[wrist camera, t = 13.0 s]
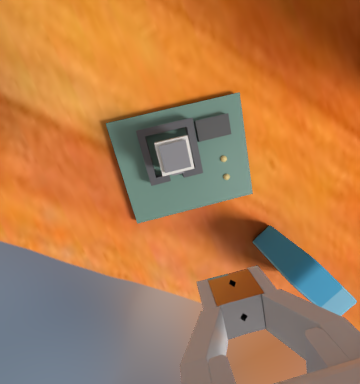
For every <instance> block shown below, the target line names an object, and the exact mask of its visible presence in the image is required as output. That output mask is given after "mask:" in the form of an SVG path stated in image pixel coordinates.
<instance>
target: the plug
mask: <svg viewBox="0 0 360 384" xmlns="http://www.w3.org/2000/svg"><path fill="white" fill-rule="evenodd" d="M154 144H155V148H156V152H157V156H158V160H159V164H160V168H161V172H162V176H167V175H171V174H172V176H174V175H178V174H182V173H184V171H187V170H191V169H195V168H194V164H193V159H192V154H191V149H190V144H189V140H188V135H187V136H179V137H175V138H171V139H166V140H162V141H158V142H155V143H154Z"/></svg>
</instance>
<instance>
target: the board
mask: <svg viewBox="0 0 360 384" xmlns="http://www.w3.org/2000/svg"><path fill="white" fill-rule="evenodd" d="M106 126H107V129H108V133H109V136H110V139H111V142H112V145H113V148H114V151H115V155H116V158H117V161H118V164H119V167H120V170H121V173H122V177H123V180H124V183H125V186H126V189H127V192H128V195H129V199H130V202H131V205H132V208H133V211H134V214H135V217H136V221H137V223H141V222H145V221H149V220H153V219H157V218H161V217H164V216H168V215H172V214H176V213H180V212H184V211H187V210H191V209H195V208H199V207H203V206H207V205H211V204H214V203H218V202H222V201H226V200H230V199H234V198H237V197H241V196H245V195H249V194H253V193H252V185H251V177H250V170H249V162H248V154H247V146H246V139H245V131H244V123H243V115H242V108H241V100H240V92H239V93H235V94H231V95H226V96H222V97H218V98H213V99H209V100H205V101H200V102H196V103H192V104H187V105H183V106H179V107H174V108H170V109H166V110H161V111H157V112H153V113H148V114H144V115H140V116H136V117H131V118H127V119H123V120H118V121H114V122H110V123H106ZM187 135H188V140H189V144H190V149H191V154H192V159H193V164H194V168H195V169H191V170H187V171H184V173H182V174H178V175H174V176H172V174H171V175H167V176H162V172H161V168H160V164H159V160H158V156H157V152H156V148H155V144H154V143H155V142H158V141H162V140H166V139H171V138H175V137H179V136H187Z"/></svg>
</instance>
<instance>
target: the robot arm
mask: <svg viewBox="0 0 360 384" xmlns="http://www.w3.org/2000/svg"><path fill="white" fill-rule="evenodd" d="M197 286H198V290H199V294H200V299H201V303H202V307H203V311H201V312H200V315H199V317H198V320H197V323H196V325H195V328H194V330H193V333H192V335H191V338H190V341H189V343H188V346H187V348H186V351H185V354H184V356H183V359H182V361H181V364H180V372H181V383H182V384H236V382H235V379H234V376H233V373H232V370H231V367H230V364H229V361H228V358H227V357H226V351H227V345H228V339H232V338H235V337H237V336H241V335H244V334H247V333H251V332H255V331H259V330H263V329H266V330H267V331H269V332H270V333H271V334H273V335H274V336H275V337H276V338H278V339H279V340H280V341H282V342H283V343H284V344H285V345H287V346H288V347H289V348H291V349H292V350H293V351H295V352H296V353H297V354H298V355H300V356H301V357H302V358H304V359H305V360H306V365H307V374H304V375H301V376H298V377H294V378H291V379H288V380H284V381H281V382H278V383H274V384H360V332H359V331H358V330H357V329H356V328H355V327H354V326H353V325H352V324H351V323H350V322H349V321H348V320H346V319H345V318H344V317H342V316H339V315H337V314H335V313H333V312H330V311H328V310H326V309H324V308H322V307H319V306H317V305H315V304H313V303H310V302H308V301H306V300H304V299H302V298H299V297H297V296H295V295H293V294H290V293H288V292H286V291H284V290H282V289H279V290H277V289H276V287H275V286H274V285H273V284H272V282H271V281H270V280H269V279H268V277H267V276H266V275H265V274H264V272H263V271H262V270H261V269H260V267H259V266H253V267H250V268H247V269H244V270H240V271H236V272H233V273H229V274H226V275H221V276H217V277H213V278H209V279H206V280H202V281H198V282H197Z"/></svg>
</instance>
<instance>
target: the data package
mask: <svg viewBox="0 0 360 384" xmlns="http://www.w3.org/2000/svg"><path fill="white" fill-rule="evenodd" d="M253 244H254V245H255V246H256V247H257V248H258V249H259V250H260V251H261V252H262V254H263V255H264V256H265V257H266V258H267V259H268V260H269V261H270V262H271V263H272V264H273V265H274V266H275V268H276V269H277V270H278V271H279V272H280V273H281V274H282V275H283V276H284V277H285V278H286V279H287V280H288V281H289V282H290V283H291V284H292V285H293V286H294V287H295V288H296V289H297V290H298V291H299V292H300V293H302V294H303V295H304V296H305V297H306V298H307V299H308V300H310V301H311V302H312V303H313V304H315V305H317V306H319V307H322V308H324V309H326V310H328V311H330V312H333V313H335V314H337V315H339V316H341V315H343V314H344V313H345V312H346V311H347V310H348V309H350V308H351V307H352V306H353V305H354V304H356V303H357V301H356V299H355V298H354V297H353V296H352V295H351V294H350V293H349V292H348V291H347V290H346V289H345V288H344V287H343V286H342V285H341V284H340V283H339V282H338V281H337V280H336V279H335V278H334V277H333V276H332V275H331V274H330V273H329V272H328V271H326V270H325V269H324V268H323V267H322V266H321V265H320V264H319V263H318V262H317V261H316V260H315V259H314V258H312V257H311V256H310V255H309V254H307V253H306V252H305V251H303V250H302V249H301V248H299V247H298V246H297V245H295V244H294V243H293V242H292V241H290V240H289V239H288V238H286V237H285V236H284V235H282V234H281V233H280V232H278V231H277V230H276V229H274V228H273V227H272V226H268V227H267V228H266V229H265V230H264V231H263V232H262V233H261V234H260V235H259V236H258V237H257V238H256V239H255V240H254V241H253Z"/></svg>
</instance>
